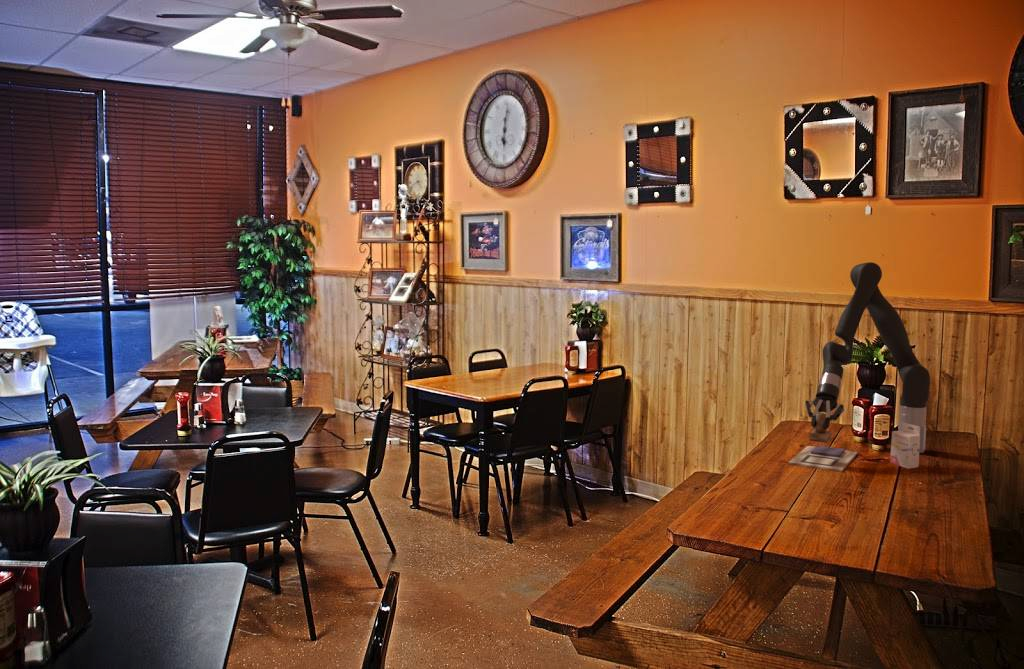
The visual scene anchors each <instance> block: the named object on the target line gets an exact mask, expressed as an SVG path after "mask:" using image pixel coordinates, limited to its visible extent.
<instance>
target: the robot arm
mask: <svg viewBox="0 0 1024 669" xmlns="http://www.w3.org/2000/svg"><path fill="white" fill-rule="evenodd" d="M882 276H883V271H882V268H881V267H880V265H879V264H877V263H876V262H870V261H869V262H863V263H859V264H856V265H855V266H853V267H852V268H851V271H850V274H849V277H850V281H851V283H852V285H853V286H854V288H855V289H854V291H853V294H852V296H851V298H850V300H849V302H848V303H847V305H846V307H844V309H843V311H842V313H841V315H840V316H839V321H838V322H837V325H836V329H835V332H834V334H835V336H836V337H837V338H839V339H841V340H842V342H844V345H843V344H840V343H838V342H834V341H828V342H827V343H825V344H824V346H823V348H822V360H823V369H822V373H821V377H820V379H819V380H818V381H819V382H818V386H817V390H816V394H815V397H814V398H813V400H811V401H809V400H805V407H806V410H807V414H808V415H807V416H808V417H809V418H811V420H810V424H811V427H812V428H814V429H815V427H816V413H824V414H826V419H825V423H824V429H826V430H827V429H829V427H830V424H831V422H832V421H837V420H838V419H839V417H840V416H841V415H842V414H843V412H844V411H845V407H844V406H845V405H844V404H839V403H838V400H839V396H840V391H841V386H842V380H843V377H844V376H843V374H844V367H843V366H846V365H849V363H851V362H852V359H853V355H854V354H853V350H854V348H853V347H854V340H855V336H856V333H857V331H858V329H859V325H860V323H861V320H862V317H863V314H864V312H865V310H866V309H867V311H868V313H869V315H870V318H871V320H872V321H873V324H874V326H875V328H876V330H877V332H878V334H879V336H880V338H881V340H882V341H883V343H884V345H885V347H886V349H887V350H888V351H889V353H890V355H891V357H892V358H893V359H892V360H893V361H894V364H895V366H896V369H897V372H898V376H899V378H900V380H901V382H902V388H901V389H902V391H901V396H900V398H899V409H898V411H899V412H898V427H897V429H898V430H897V431H899V430H902V422H904V423H908V424H911V425H915V426H919V427H920V449H919V454H923V453H924V452H925V451H926V439H927V438H926V436H927V425H926V423H927V410H928V409H927V408H928V407H927V406H928V405H927V404H928V400H929V398H930V396H929V395H930V387H931V384H930V383H931V375H930V372H929V370H928V369H927V368H926V367H925V366H923V365H922V364H921V362H920V361H919V360H918V358H917V356H916V354H915V353H914V350H913V348H912V347H911V344H910V340H909V336H908V332H907V328H906V326H905V324H904V322H903V320H902V318H901V316H900V314H899V313H898V311H897V309H895V307H894V306H893V305H892V304H891V303H890V302H889V301H888V300H887V299H886V298H885V296H884V295H883V294H882V292H881V289H880V288H879V283H880V282H881V280H882ZM813 405H814V411H813V412H812V409H811V408H813ZM835 409H836V410H835ZM833 411H834V412H833ZM832 412H833V413H832ZM908 429H912V430H914V428H912V427H908Z"/></svg>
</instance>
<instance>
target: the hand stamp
mask: <svg viewBox="0 0 1024 669" xmlns="http://www.w3.org/2000/svg"><path fill="white" fill-rule="evenodd" d="M826 418H827V413H825V412H821V413H816V426H815V428H814V429H812V430H811V431H810V432H809V437H808V438H809V442H819V443H825V444H827V443H828V442H829V441H830V440H831V439H832V438H831V437H832V432H831V431H829V430H827V429H824V423H825V419H826Z"/></svg>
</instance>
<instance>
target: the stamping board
mask: <svg viewBox="0 0 1024 669" xmlns="http://www.w3.org/2000/svg"><path fill="white" fill-rule="evenodd" d="M857 455H858V451H850V450H846V448H840V447H839V448H838V447H831V446H824V445H816V446H815V445H814V446H812V445H807V446H805V447H804V448H803V449H802V450H801V451H800V452H799V453H798V454H796V455H795V456H793V458H792V459H790V460H789V461H788V465H791V466H797V467H798V466H799V467H804V468H812V469H819V470H824V471H832V472H843V471H844V470H845V469H846V467H847V466H849V464H850V463H851V462H852V461H853V460H854V458H855V457H856V456H857Z"/></svg>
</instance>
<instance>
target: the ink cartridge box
mask: <svg viewBox="0 0 1024 669" xmlns="http://www.w3.org/2000/svg"><path fill="white" fill-rule="evenodd" d="M908 427H912V428H914V430H912V429H908ZM919 449H920V427H919V426H915V425H911V424H908V423H904V422H902V430H899V431H898V430H893V431H892V430H891V443H890V461H889V462H890V464H894V465H896V466H899V467H902V468H906V469H909V470H910V469H916V468H919V464H920V462H919V461H920V453H919Z"/></svg>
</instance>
